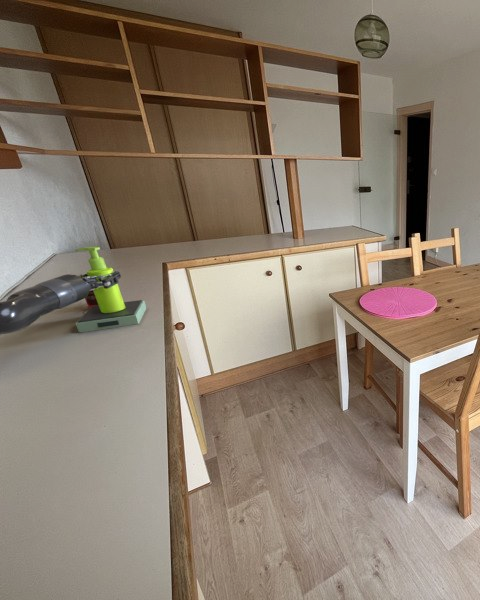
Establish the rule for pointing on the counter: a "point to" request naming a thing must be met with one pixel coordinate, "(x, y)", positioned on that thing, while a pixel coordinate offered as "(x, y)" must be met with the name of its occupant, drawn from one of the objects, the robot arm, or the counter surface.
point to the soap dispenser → (106, 298)
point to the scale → (111, 317)
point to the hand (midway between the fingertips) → (107, 274)
